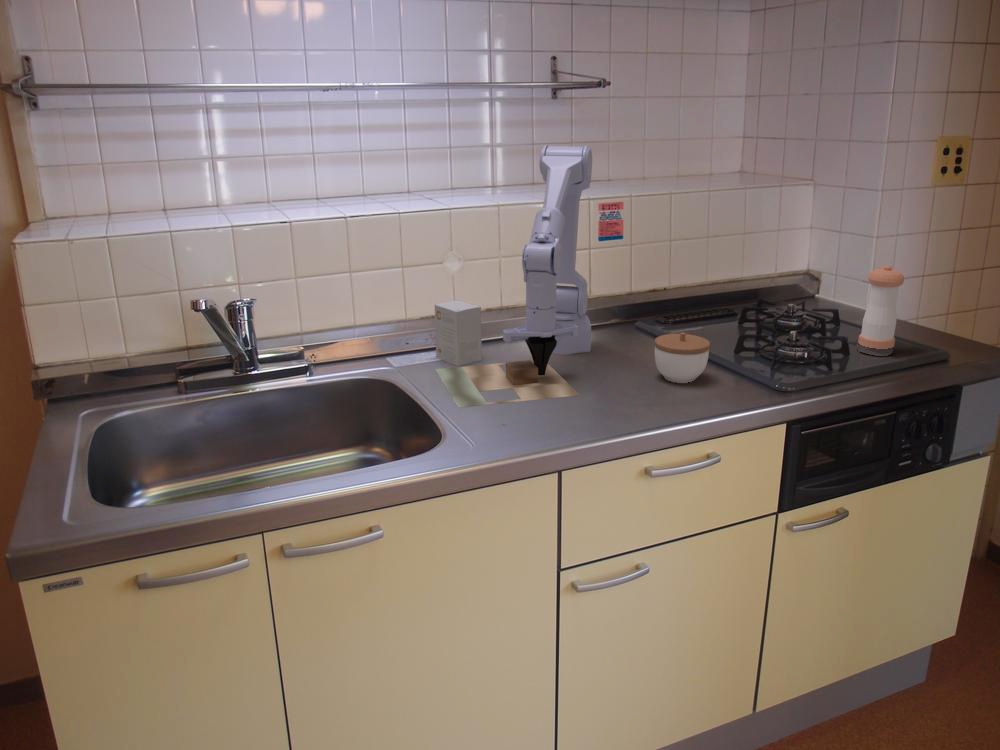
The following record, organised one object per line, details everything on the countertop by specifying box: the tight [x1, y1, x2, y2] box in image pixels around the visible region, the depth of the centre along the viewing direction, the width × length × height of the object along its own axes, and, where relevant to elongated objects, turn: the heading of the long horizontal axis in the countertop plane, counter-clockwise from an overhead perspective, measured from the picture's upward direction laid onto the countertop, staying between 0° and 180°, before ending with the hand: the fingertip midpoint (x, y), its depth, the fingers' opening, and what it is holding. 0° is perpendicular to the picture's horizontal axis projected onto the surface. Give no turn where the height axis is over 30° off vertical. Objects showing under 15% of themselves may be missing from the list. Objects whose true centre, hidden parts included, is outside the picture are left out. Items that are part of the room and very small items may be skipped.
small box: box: [434, 299, 483, 367], centre depth 170 cm, size 8×6×13 cm
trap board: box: [434, 359, 581, 409], centre depth 158 cm, size 23×22×2 cm
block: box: [505, 359, 538, 385], centre depth 158 cm, size 5×5×3 cm
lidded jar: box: [654, 332, 711, 384], centre depth 162 cm, size 11×11×9 cm
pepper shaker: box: [857, 265, 905, 349], centre depth 176 cm, size 7×7×19 cm
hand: (540, 373), depth 159 cm, fingers closed
